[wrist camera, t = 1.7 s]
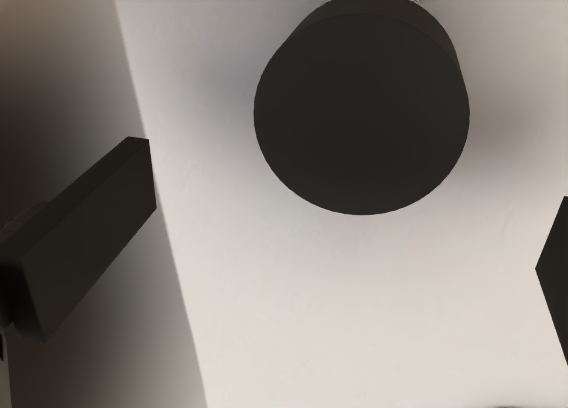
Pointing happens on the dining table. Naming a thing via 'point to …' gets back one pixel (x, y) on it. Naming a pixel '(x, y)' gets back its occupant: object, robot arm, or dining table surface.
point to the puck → (363, 107)
